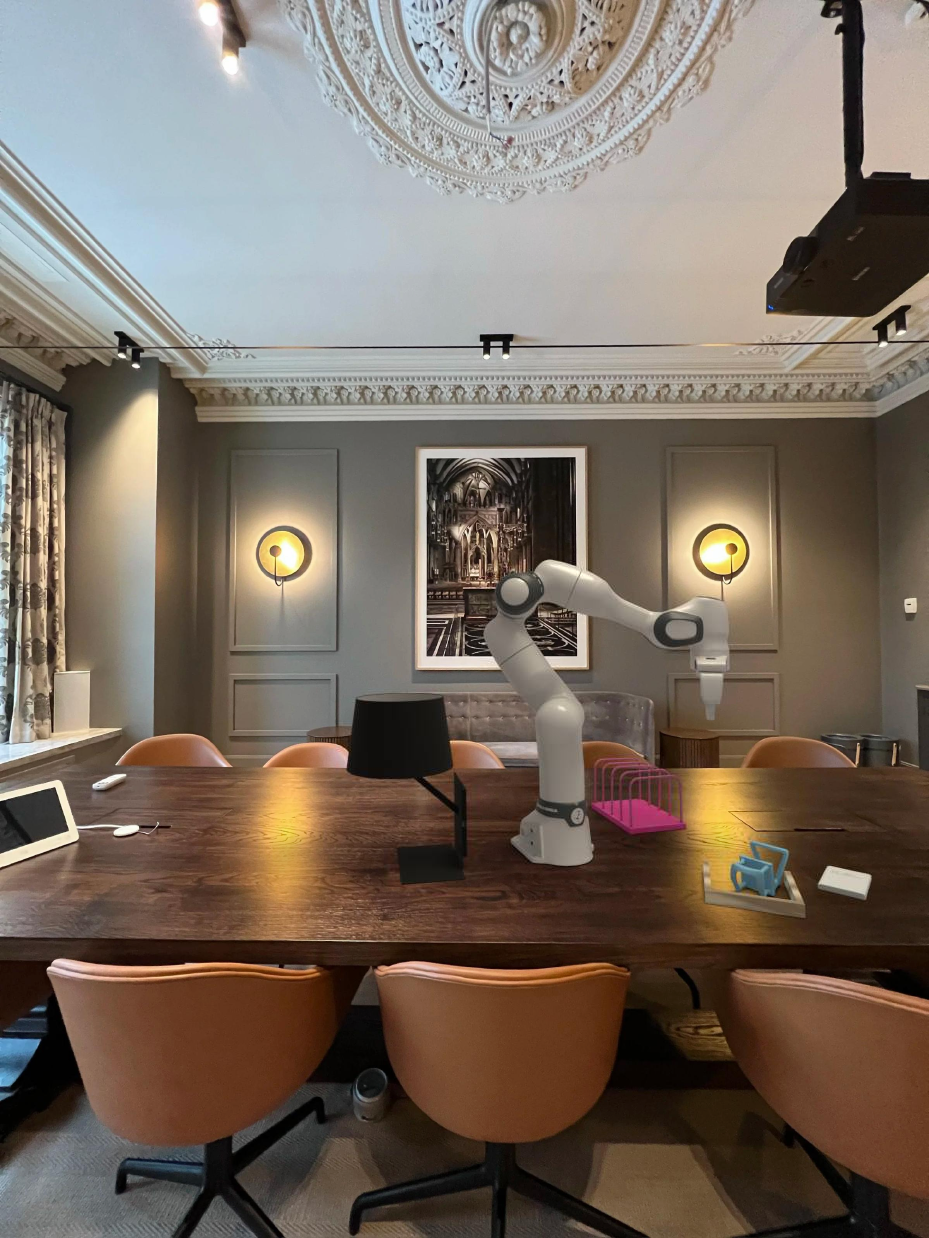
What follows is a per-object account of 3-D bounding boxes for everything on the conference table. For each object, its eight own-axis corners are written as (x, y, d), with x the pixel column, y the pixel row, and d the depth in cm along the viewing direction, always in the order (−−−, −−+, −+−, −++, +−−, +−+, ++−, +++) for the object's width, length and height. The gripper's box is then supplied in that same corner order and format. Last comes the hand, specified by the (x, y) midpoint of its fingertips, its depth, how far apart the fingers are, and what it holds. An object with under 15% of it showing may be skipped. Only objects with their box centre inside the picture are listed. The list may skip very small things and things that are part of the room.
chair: (754, 876, 123) (727, 897, 116) (751, 839, 123) (724, 858, 116) (791, 888, 117) (766, 911, 110) (788, 849, 117) (762, 870, 109)
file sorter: (641, 804, 179) (639, 755, 180) (687, 829, 155) (685, 773, 155) (591, 808, 176) (590, 758, 176) (630, 834, 151) (628, 776, 152)
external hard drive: (818, 890, 117) (827, 871, 126) (865, 902, 112) (871, 881, 121) (817, 883, 117) (827, 864, 126) (865, 894, 112) (871, 874, 121)
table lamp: (473, 882, 122) (471, 700, 123) (343, 893, 117) (343, 704, 119) (456, 841, 147) (455, 690, 149) (348, 849, 142) (348, 693, 144)
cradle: (703, 871, 126) (702, 860, 126) (790, 883, 120) (790, 871, 120) (705, 902, 111) (705, 890, 111) (805, 918, 104) (804, 904, 105)
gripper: (694, 661, 146) (695, 713, 145) (696, 663, 127) (697, 724, 126) (720, 661, 144) (721, 714, 143) (727, 664, 125) (727, 725, 124)
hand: (710, 719), depth 135 cm, fingers closed
